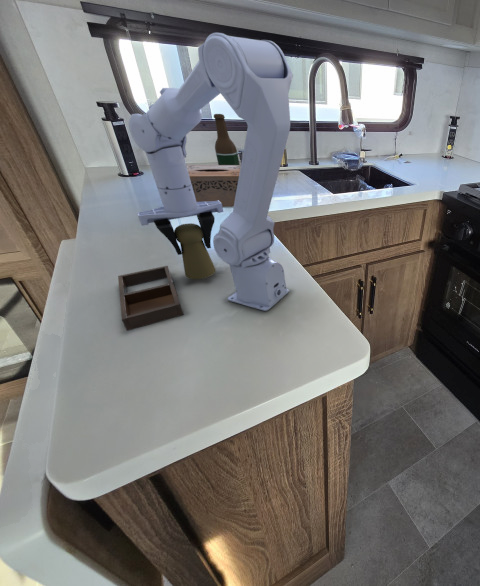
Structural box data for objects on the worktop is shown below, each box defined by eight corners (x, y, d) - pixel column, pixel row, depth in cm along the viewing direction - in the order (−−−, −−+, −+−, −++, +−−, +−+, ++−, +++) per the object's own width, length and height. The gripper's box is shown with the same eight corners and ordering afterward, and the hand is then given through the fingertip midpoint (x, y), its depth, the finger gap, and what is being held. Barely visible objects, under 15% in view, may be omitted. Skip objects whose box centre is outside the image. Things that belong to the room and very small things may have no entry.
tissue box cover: (259, 192, 124) (255, 165, 119) (256, 205, 113) (251, 175, 107) (183, 194, 118) (174, 165, 113) (172, 208, 107) (162, 176, 101)
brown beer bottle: (246, 180, 135) (234, 114, 122) (230, 184, 130) (215, 116, 116) (234, 177, 139) (221, 112, 125) (217, 181, 133) (202, 113, 120)
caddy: (183, 314, 63) (179, 304, 61) (127, 330, 58) (121, 319, 57) (171, 275, 74) (167, 265, 72) (122, 286, 69) (118, 275, 68)
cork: (207, 263, 77) (194, 217, 71) (220, 272, 74) (208, 226, 68) (180, 272, 73) (164, 225, 67) (193, 282, 70) (177, 234, 64)
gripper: (209, 175, 69) (224, 235, 77) (125, 184, 61) (151, 250, 69) (219, 184, 65) (234, 247, 72) (130, 195, 57) (156, 264, 64)
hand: (194, 249), depth 70 cm, fingers closed on cork, 5 cm apart
